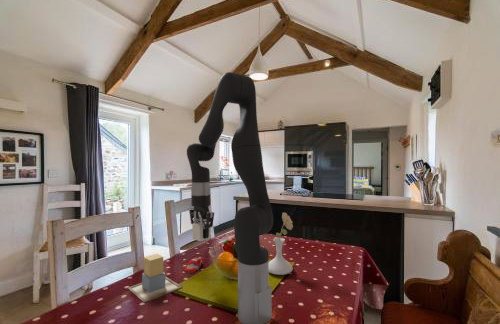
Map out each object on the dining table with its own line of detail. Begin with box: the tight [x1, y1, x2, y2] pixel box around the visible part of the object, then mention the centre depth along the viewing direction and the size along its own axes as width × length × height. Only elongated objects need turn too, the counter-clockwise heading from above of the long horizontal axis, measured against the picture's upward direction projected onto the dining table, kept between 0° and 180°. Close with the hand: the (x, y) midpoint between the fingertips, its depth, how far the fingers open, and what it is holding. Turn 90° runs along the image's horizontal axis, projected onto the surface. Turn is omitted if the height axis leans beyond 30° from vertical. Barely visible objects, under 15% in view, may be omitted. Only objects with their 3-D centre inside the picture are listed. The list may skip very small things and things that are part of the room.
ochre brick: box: [143, 253, 164, 278], centre depth 92 cm, size 5×5×6 cm
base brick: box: [141, 271, 166, 293], centre depth 92 cm, size 6×6×5 cm
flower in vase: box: [269, 212, 294, 276], centre depth 108 cm, size 13×11×25 cm
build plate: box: [127, 275, 183, 304], centre depth 92 cm, size 14×14×1 cm
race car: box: [183, 257, 203, 274], centre depth 111 cm, size 13×5×4 cm, turn 173°
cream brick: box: [191, 222, 211, 242], centre depth 99 cm, size 5×5×6 cm
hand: (201, 236), depth 99 cm, fingers closed on cream brick, 5 cm apart
